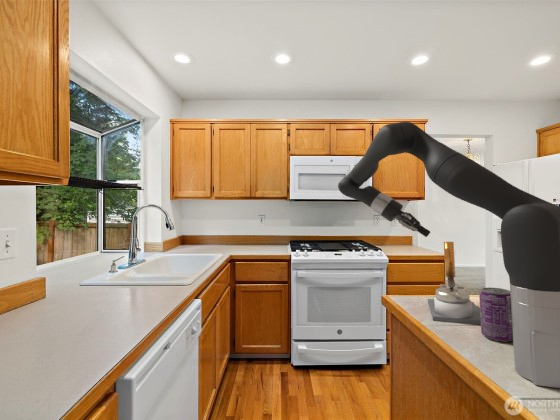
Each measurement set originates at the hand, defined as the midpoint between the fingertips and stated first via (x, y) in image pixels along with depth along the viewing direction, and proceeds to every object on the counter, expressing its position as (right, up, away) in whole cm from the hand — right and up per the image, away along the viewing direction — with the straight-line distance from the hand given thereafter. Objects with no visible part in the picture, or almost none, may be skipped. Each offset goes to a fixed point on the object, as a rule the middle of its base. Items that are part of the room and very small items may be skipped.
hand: (428, 234), depth 103 cm
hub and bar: (+3, -19, -8) cm, 21 cm away
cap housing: (+4, -24, -9) cm, 26 cm away
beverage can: (+3, -24, -29) cm, 38 cm away
